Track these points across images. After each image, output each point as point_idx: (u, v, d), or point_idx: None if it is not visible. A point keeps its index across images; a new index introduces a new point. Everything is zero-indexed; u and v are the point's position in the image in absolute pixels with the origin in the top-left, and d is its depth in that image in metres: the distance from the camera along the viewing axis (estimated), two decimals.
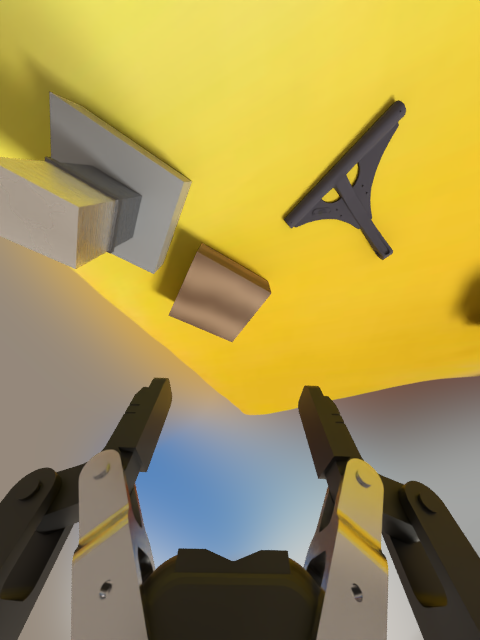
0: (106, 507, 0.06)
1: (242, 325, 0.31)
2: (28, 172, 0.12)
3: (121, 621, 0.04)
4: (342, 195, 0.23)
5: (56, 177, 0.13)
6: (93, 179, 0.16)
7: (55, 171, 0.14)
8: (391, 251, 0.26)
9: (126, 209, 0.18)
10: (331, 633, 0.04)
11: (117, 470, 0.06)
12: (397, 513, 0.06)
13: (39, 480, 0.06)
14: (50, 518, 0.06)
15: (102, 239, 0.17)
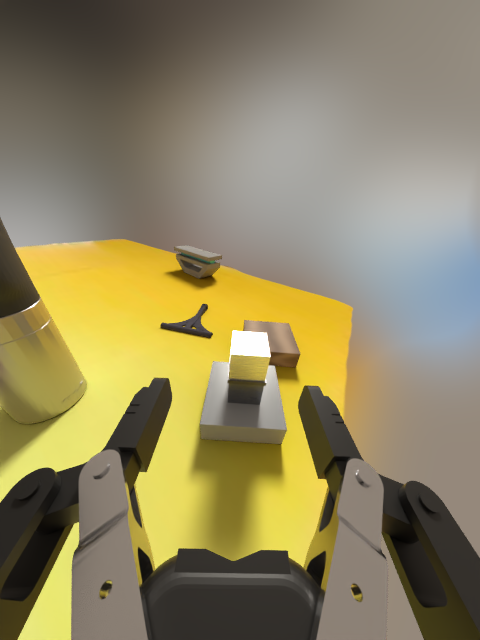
0: (106, 507, 0.06)
1: (272, 323, 0.49)
2: None
3: (121, 621, 0.04)
4: (192, 324, 0.51)
5: None
6: None
7: None
8: None
9: None
10: (331, 633, 0.04)
11: (117, 470, 0.06)
12: (397, 513, 0.06)
13: (39, 480, 0.06)
14: (50, 518, 0.06)
15: None
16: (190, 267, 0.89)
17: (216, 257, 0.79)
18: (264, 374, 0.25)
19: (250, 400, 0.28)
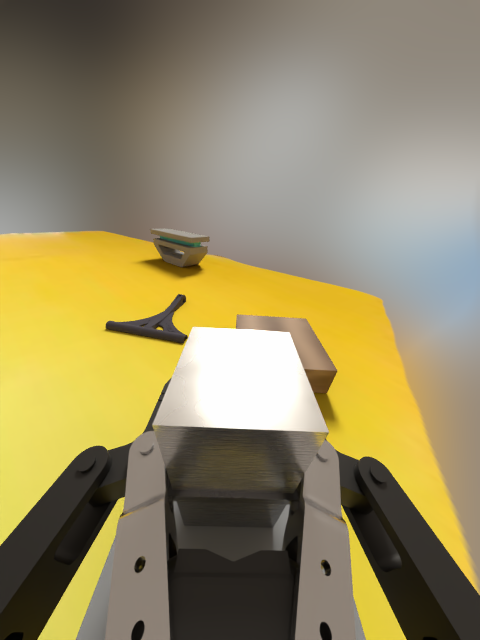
0: (147, 485, 0.06)
1: (281, 318, 0.31)
2: None
3: (149, 602, 0.04)
4: (156, 323, 0.33)
5: None
6: None
7: None
8: (178, 294, 0.42)
9: None
10: (308, 619, 0.04)
11: None
12: (350, 485, 0.07)
13: (94, 456, 0.07)
14: (98, 495, 0.06)
15: None
16: (171, 254, 0.72)
17: (202, 238, 0.62)
18: (294, 478, 0.07)
19: (247, 522, 0.10)
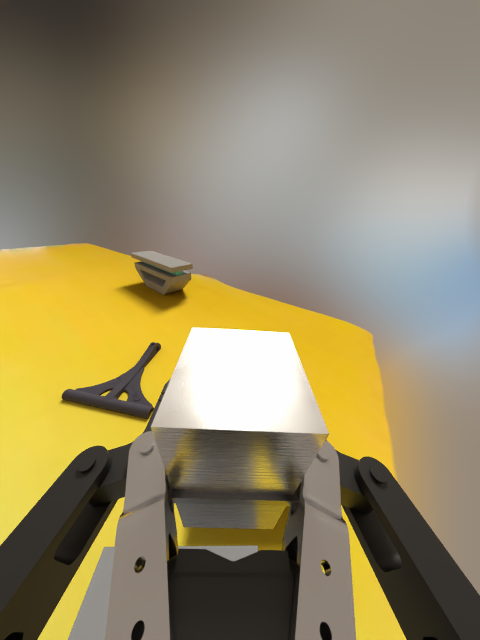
0: (147, 485, 0.06)
1: None
2: None
3: (149, 602, 0.04)
4: (121, 389, 0.30)
5: None
6: None
7: None
8: None
9: None
10: (308, 619, 0.04)
11: None
12: (350, 485, 0.07)
13: (94, 456, 0.07)
14: (99, 495, 0.06)
15: None
16: (153, 279, 0.68)
17: (184, 266, 0.58)
18: (294, 480, 0.07)
19: (246, 523, 0.10)
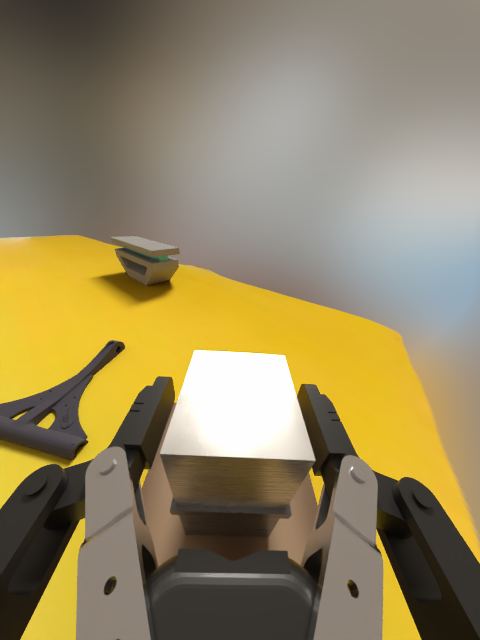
0: (111, 504, 0.06)
1: None
2: None
3: (125, 618, 0.04)
4: (45, 409, 0.20)
5: None
6: None
7: None
8: (110, 341, 0.29)
9: None
10: (328, 631, 0.04)
11: (123, 466, 0.07)
12: (391, 509, 0.06)
13: (47, 476, 0.06)
14: (56, 514, 0.06)
15: None
16: (136, 268, 0.58)
17: (168, 251, 0.48)
18: (286, 496, 0.08)
19: (244, 532, 0.11)
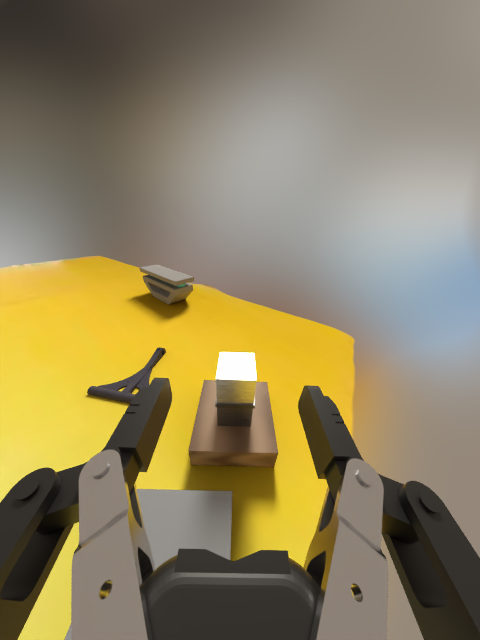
0: (106, 507, 0.06)
1: None
2: None
3: (121, 621, 0.04)
4: (133, 386, 0.37)
5: None
6: None
7: None
8: (158, 348, 0.45)
9: None
10: (331, 633, 0.04)
11: (117, 470, 0.06)
12: (397, 513, 0.06)
13: (39, 480, 0.06)
14: (50, 518, 0.06)
15: None
16: (159, 290, 0.76)
17: (186, 280, 0.66)
18: (252, 397, 0.24)
19: (240, 422, 0.27)
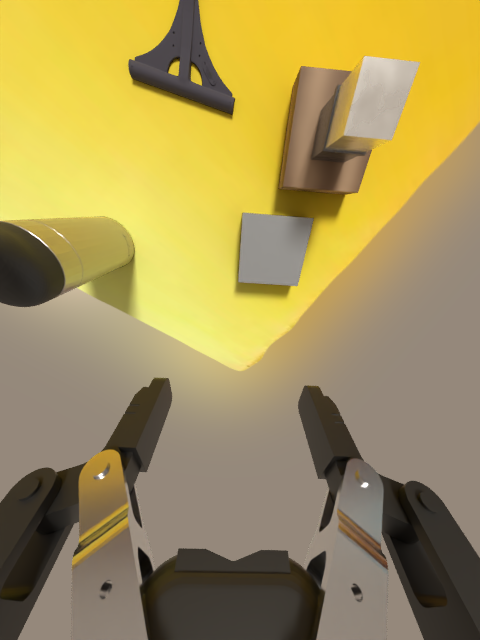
0: (106, 507, 0.06)
1: None
2: (343, 119, 0.19)
3: (121, 621, 0.04)
4: (189, 62, 0.24)
5: (338, 119, 0.20)
6: (324, 129, 0.23)
7: (332, 131, 0.21)
8: None
9: None
10: (331, 633, 0.04)
11: (117, 470, 0.06)
12: (397, 513, 0.06)
13: (39, 480, 0.06)
14: (50, 518, 0.06)
15: None
16: None
17: None
18: (369, 149, 0.21)
19: (336, 160, 0.26)
